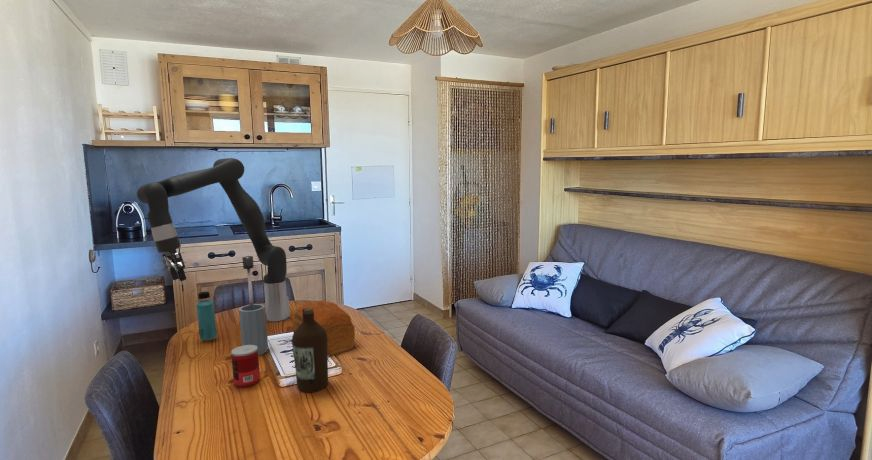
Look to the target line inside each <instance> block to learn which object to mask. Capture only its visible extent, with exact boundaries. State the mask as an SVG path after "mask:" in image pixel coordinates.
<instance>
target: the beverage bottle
mask: <svg viewBox="0 0 872 460" xmlns="http://www.w3.org/2000/svg"><path fill="white" fill-rule="evenodd" d="M197 294H198V297H197V299H199V301H198V302H196V303H195V306H196V314H197V315H196V316H197V322H198V336H199V339H200V340H201V341H209V340H213V339H215V338H216V337H217V336H218V330H217V322H216V316H215V315H216V314H215V307H214V306H215V305H214V301H213V300H211V299H210V297H211V294H210V292H209V291H202V292H199V293H197Z"/></svg>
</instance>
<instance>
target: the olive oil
mask: <svg viewBox="0 0 872 460" xmlns="http://www.w3.org/2000/svg"><path fill="white" fill-rule="evenodd" d="M293 332H294V331H293ZM291 347H292V352H293V361H294V367H295V377H296V386H297V390H299V391H300V392H303V393H316V392H318V391H322V390H323V389H325V388H326V387H328V385H329V371H328V367H329V365H328V362H329V361H328V360H329V359H328V357H329V356H328V338H327V333H326V331H325V329H324V328H323V327H322V326H321V325H320V324H319V323H317V322H316V321H315V320H314V312H313V308H311V307H307V308H304V309H303V322H302V323H301V324H300V325H299V326H298V328H297V329H296V330H295V332H294V333H293V334H292V337H291Z"/></svg>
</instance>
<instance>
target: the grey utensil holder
mask: <svg viewBox="0 0 872 460" xmlns="http://www.w3.org/2000/svg"><path fill="white" fill-rule="evenodd" d="M253 306H254V310H251V311H250V304H247V305H243V306H242V305H241V307H239V308H238V316H239V327H240V328H239V329H240V338H241V341H240V342H241V346H244V345H255V346H257V348H258V357H259V356H261V355H265V354H266V353H265V351H266V349H267V347H268V348H269V341H268V340H269V339H268V327H267V326H268V325H267V317H266V305H265V304H261V303H253ZM264 353H265V354H264Z"/></svg>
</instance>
